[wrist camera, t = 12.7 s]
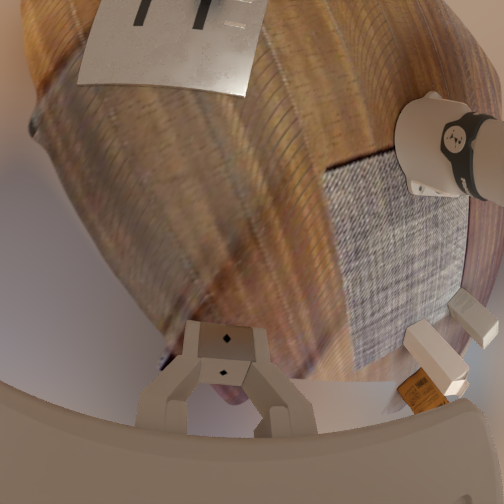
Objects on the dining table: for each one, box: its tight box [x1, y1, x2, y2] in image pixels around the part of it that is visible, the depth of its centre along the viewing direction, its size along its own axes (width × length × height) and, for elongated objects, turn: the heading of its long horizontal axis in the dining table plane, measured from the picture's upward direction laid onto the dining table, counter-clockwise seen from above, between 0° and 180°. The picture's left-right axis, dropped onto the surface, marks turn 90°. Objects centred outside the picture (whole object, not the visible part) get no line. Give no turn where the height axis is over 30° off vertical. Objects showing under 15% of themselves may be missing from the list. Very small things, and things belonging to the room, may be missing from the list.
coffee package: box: [398, 367, 449, 414], centre depth 62 cm, size 10×12×22 cm
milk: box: [403, 319, 470, 398], centre depth 48 cm, size 6×6×22 cm
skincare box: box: [447, 287, 499, 349], centre depth 51 cm, size 8×7×16 cm
